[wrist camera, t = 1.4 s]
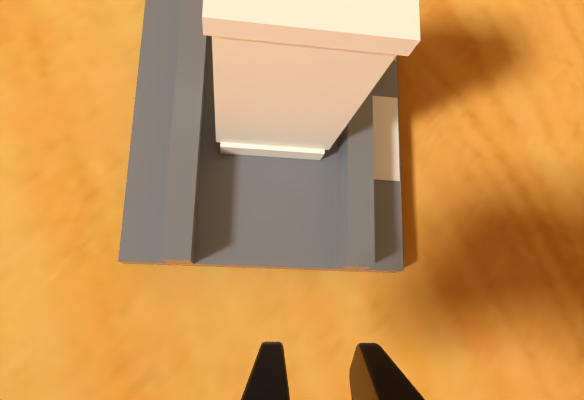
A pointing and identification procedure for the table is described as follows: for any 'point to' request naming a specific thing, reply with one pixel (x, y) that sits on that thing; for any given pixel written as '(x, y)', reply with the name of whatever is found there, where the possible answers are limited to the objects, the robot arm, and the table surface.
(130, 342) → the table surface
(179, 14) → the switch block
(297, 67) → the tab
